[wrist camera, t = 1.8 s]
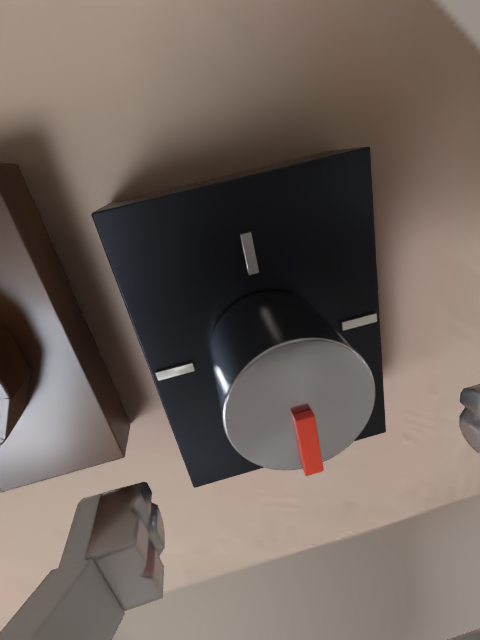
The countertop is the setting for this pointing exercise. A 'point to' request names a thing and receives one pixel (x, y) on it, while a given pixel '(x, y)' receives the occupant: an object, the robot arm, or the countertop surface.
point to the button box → (47, 358)
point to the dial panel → (243, 278)
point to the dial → (288, 383)
